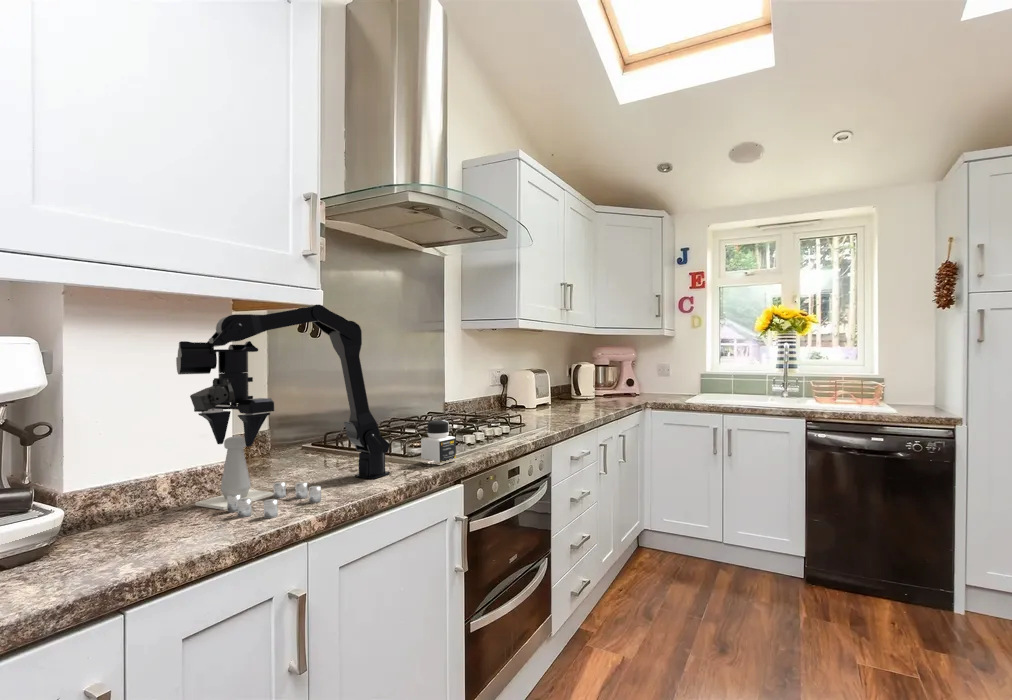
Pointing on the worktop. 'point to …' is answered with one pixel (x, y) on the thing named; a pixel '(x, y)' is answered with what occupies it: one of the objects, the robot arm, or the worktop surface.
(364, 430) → the robot arm
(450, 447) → the medicine bottle
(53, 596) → the worktop surface
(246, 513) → the spacer field
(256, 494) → the pad
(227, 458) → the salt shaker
